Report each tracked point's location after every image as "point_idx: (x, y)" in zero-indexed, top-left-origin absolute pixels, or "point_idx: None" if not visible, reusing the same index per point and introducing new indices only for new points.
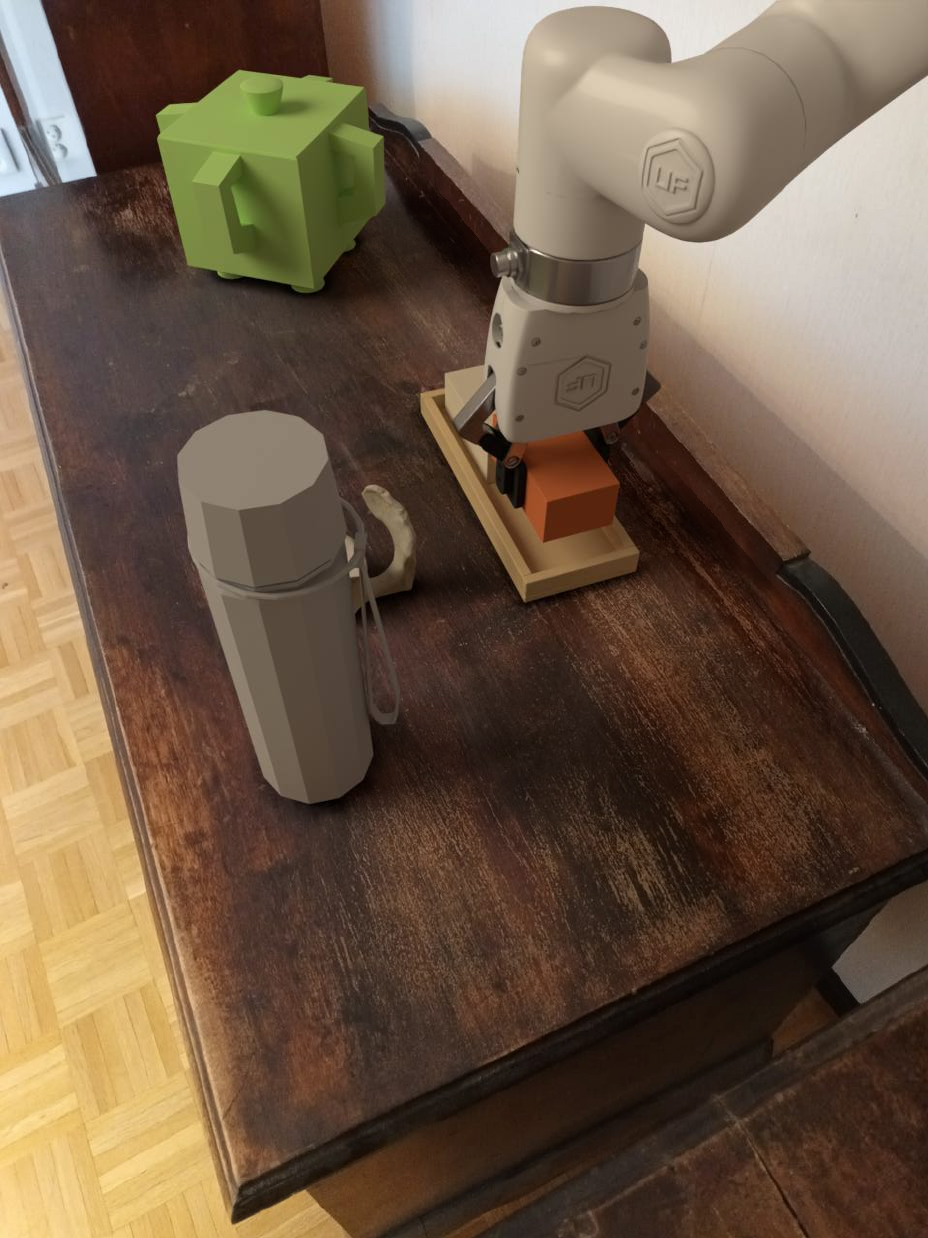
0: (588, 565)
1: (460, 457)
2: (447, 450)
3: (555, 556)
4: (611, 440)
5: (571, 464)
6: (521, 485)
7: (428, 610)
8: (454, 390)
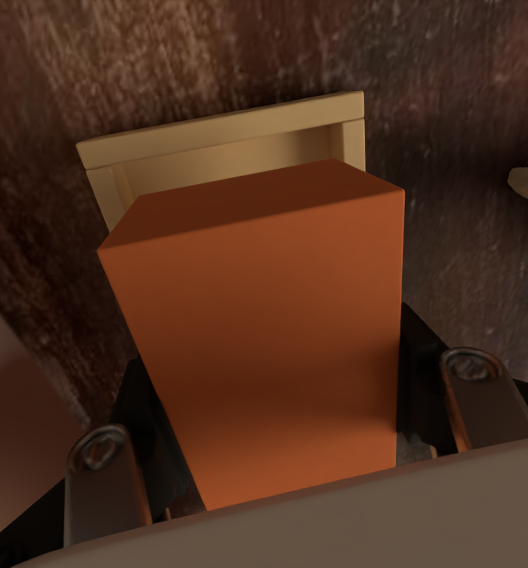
0: (210, 121)
1: None
2: None
3: None
4: (104, 436)
5: (259, 353)
6: None
7: (508, 111)
8: None
